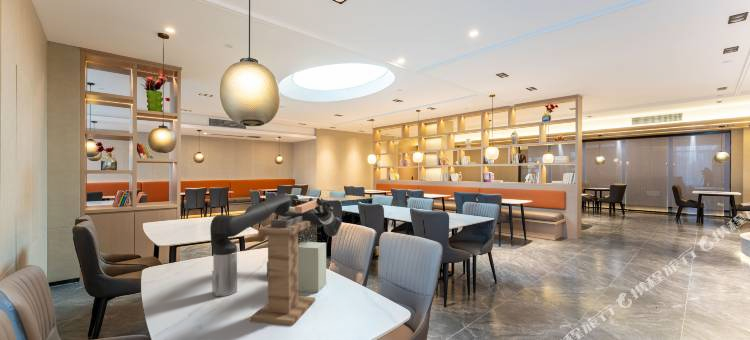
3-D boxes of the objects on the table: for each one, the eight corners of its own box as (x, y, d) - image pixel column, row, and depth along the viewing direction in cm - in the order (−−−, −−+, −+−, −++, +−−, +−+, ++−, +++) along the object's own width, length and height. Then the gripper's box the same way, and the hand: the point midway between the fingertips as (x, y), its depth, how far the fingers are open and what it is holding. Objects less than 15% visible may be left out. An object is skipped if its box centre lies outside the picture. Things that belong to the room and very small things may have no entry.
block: (301, 213, 129) (301, 206, 129) (294, 212, 130) (294, 206, 130) (320, 205, 151) (320, 199, 151) (314, 204, 151) (314, 199, 151)
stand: (293, 325, 108) (292, 223, 108) (250, 321, 111) (249, 222, 111) (315, 301, 128) (314, 215, 128) (278, 298, 131) (277, 214, 131)
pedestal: (318, 292, 137) (318, 248, 137) (292, 290, 140) (292, 246, 139) (326, 284, 147) (326, 242, 147) (301, 282, 149) (301, 241, 149)
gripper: (336, 222, 157) (326, 207, 143) (309, 221, 160) (297, 206, 145) (339, 208, 161) (329, 192, 146) (312, 207, 164) (301, 192, 149)
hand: (313, 199), depth 146 cm, fingers closed on block, 3 cm apart
